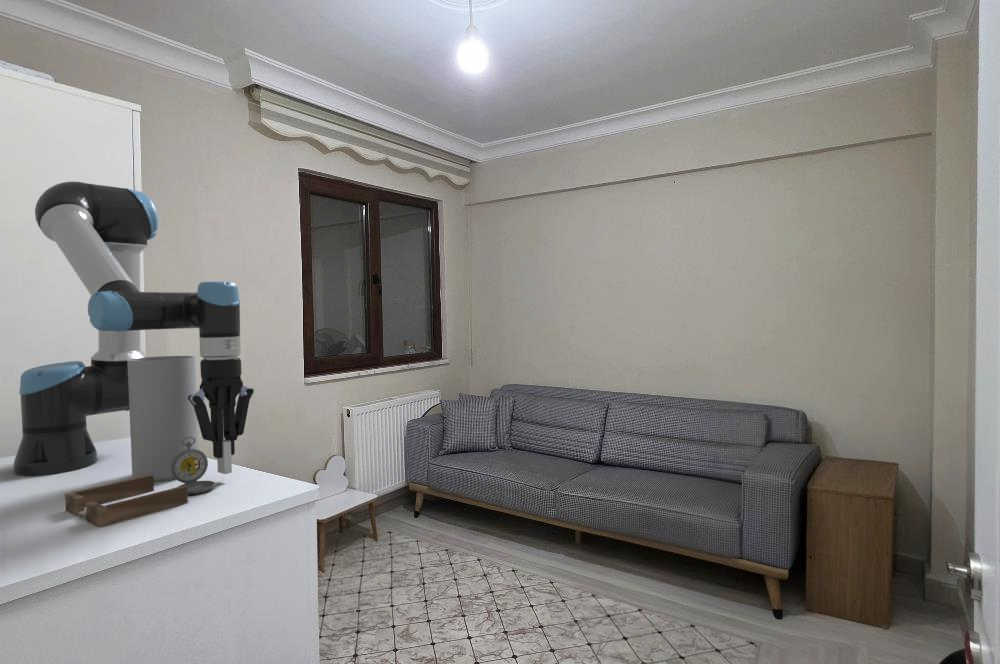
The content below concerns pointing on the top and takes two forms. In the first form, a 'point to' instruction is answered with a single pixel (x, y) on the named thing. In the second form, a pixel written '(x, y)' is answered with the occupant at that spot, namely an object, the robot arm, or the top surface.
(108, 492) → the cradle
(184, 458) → the pocket watch
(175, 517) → the top surface
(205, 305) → the robot arm
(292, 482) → the top surface
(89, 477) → the top surface
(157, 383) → the cylinder vase
